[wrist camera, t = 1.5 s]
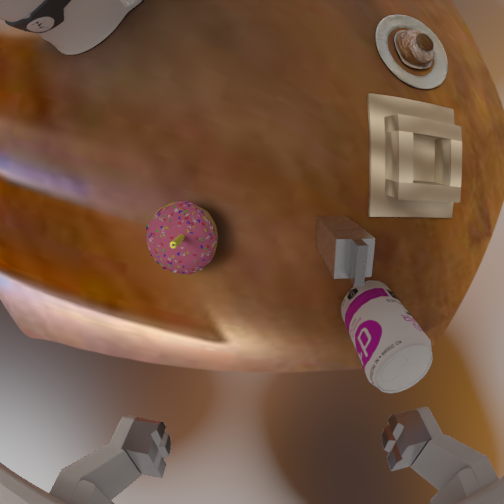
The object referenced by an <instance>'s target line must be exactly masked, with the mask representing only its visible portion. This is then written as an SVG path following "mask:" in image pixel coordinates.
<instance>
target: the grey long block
mask: <svg viewBox="0 0 504 504" xmlns="http://www.w3.org/2000/svg"><path fill="white" fill-rule="evenodd" d="M316 247H317V249H318V251H319V253H320V255H321V256H322V258H323V260H324V262H325V264H326V265H327V267H328V269H329V271H330V273H331V275H332V276H333V278H334V279H342V278H349V280H350V282H351V283H352V285H353V286H354V287H364V282H365V277H371V275H372V267H373V258H374V248H375V238H374V237H373V236H372V235H370V234H369V233H368V232H367V231H365V230H364V229H363V228H362V227H360V226H359V225H358V224H357V223H355V222H354V221H353V220H352V219H350V218H349V217H348V216H317V223H316Z"/></svg>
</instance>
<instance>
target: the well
mask: <svg viewBox="0 0 504 504" xmlns="http://www.w3.org/2000/svg"><path fill="white" fill-rule="evenodd" d="M367 103H368V120H369V153H370V176H369V210H368V216H369V217H431V218H452V212H453V202H459V203H460V196H461V179H462V128H461V126H458V125H455V121H454V109H450V108H446V107H442V106H438V105H434V104H429V103H425V102H420V101H415V100H410V99H404V98H399V97H393V96H386V95H379V94H372V93H368V94H367Z"/></svg>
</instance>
